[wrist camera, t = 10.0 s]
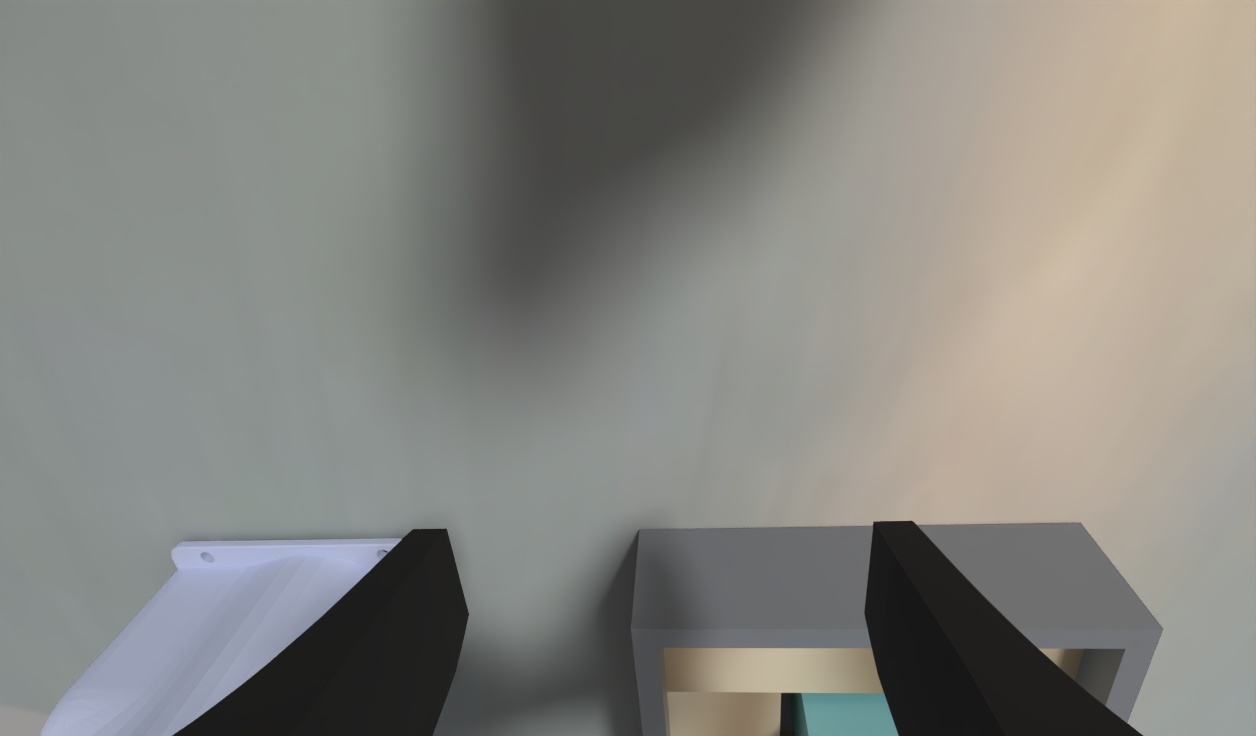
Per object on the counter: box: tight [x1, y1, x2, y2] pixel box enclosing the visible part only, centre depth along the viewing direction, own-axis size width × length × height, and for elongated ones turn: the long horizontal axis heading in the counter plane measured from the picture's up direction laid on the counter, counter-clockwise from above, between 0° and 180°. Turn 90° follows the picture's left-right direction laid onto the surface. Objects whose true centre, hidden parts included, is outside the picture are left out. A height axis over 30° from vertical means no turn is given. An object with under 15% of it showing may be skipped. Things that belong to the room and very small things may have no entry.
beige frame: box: [663, 648, 1085, 736], centre depth 26 cm, size 13×13×2 cm
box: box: [631, 523, 1163, 736], centre depth 25 cm, size 15×15×4 cm
